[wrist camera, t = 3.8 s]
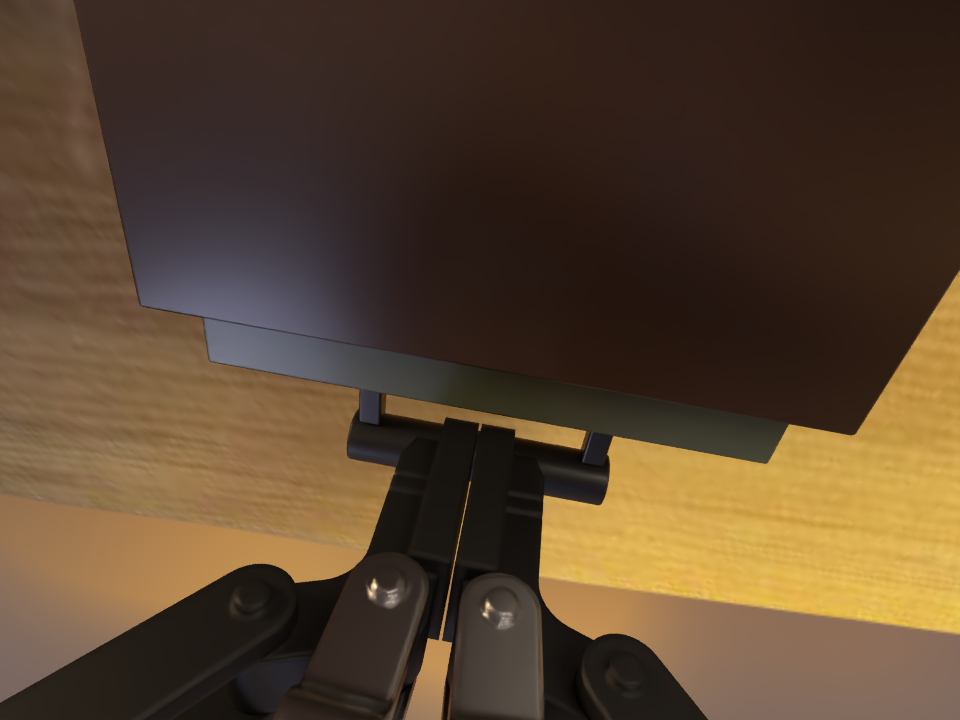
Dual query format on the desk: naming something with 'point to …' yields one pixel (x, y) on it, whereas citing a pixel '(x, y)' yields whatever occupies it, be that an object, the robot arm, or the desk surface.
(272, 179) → the cabinet
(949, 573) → the desk surface
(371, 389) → the drawer
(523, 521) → the robot arm
